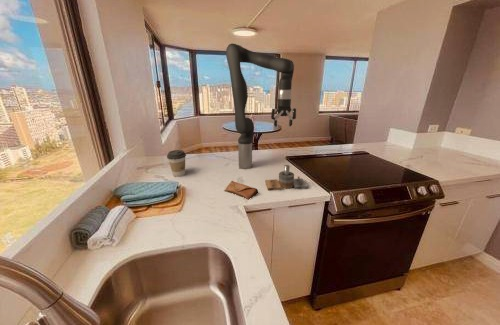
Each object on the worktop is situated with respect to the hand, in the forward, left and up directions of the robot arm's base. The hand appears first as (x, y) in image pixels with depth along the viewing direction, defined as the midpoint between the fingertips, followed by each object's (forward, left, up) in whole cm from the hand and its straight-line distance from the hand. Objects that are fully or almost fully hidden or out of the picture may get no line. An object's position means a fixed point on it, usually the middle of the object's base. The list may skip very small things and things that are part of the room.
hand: (282, 126), depth 126 cm
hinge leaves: (-1, -18, -30) cm, 35 cm away
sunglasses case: (-27, -23, -31) cm, 47 cm away
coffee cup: (-65, +3, -30) cm, 72 cm away
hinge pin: (-1, -18, -30) cm, 35 cm away
